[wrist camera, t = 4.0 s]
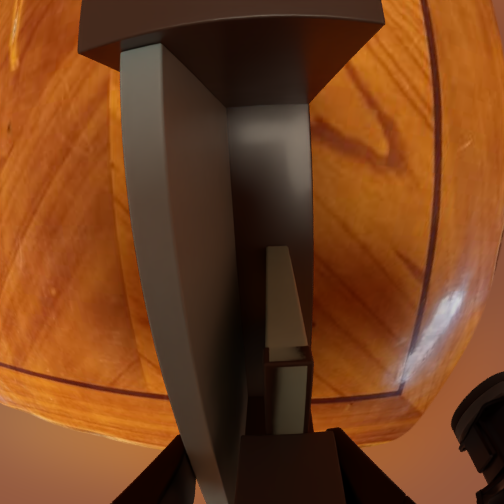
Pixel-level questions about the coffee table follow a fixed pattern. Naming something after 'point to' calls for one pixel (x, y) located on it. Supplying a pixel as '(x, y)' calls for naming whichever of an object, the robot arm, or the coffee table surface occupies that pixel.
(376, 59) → the coffee table surface
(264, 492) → the pane
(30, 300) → the coffee table surface
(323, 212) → the coffee table surface
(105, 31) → the window frame
